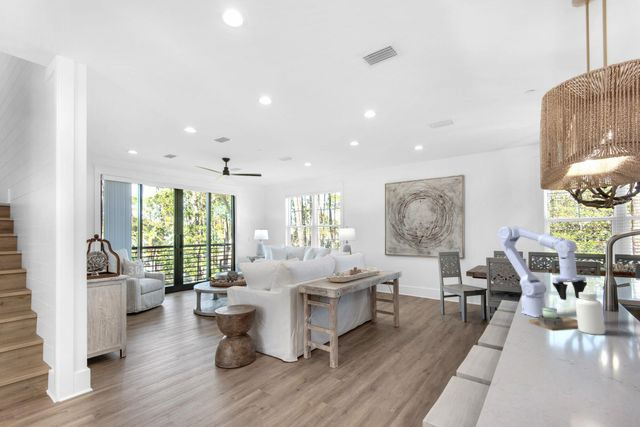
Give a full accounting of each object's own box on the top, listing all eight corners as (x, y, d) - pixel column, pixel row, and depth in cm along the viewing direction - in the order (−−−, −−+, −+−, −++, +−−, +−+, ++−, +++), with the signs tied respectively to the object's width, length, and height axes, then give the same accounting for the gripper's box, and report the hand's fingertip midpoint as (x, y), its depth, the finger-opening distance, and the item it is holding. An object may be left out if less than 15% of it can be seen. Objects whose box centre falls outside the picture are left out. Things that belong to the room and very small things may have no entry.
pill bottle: (594, 328, 125) (590, 290, 126) (611, 335, 117) (606, 294, 118) (573, 329, 125) (569, 291, 126) (588, 335, 117) (584, 295, 119)
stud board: (529, 322, 137) (528, 314, 137) (566, 319, 138) (565, 311, 139) (552, 330, 125) (551, 321, 125) (592, 327, 127) (591, 318, 127)
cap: (554, 320, 127) (553, 310, 127) (540, 318, 131) (539, 308, 131) (559, 318, 130) (558, 308, 130) (546, 316, 134) (545, 306, 134)
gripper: (561, 269, 131) (564, 301, 130) (591, 267, 133) (594, 299, 132) (547, 267, 138) (550, 298, 137) (575, 265, 140) (579, 296, 139)
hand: (571, 298), depth 135 cm, fingers open, 7 cm apart
